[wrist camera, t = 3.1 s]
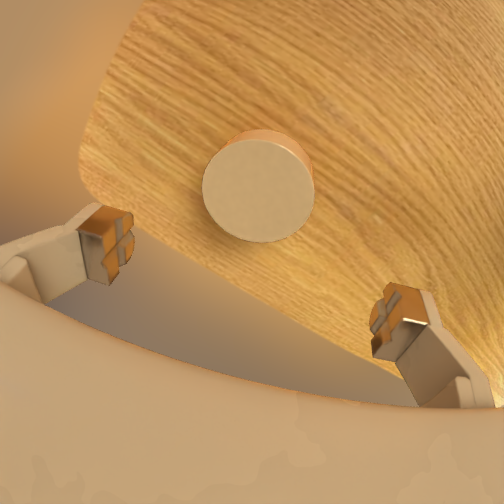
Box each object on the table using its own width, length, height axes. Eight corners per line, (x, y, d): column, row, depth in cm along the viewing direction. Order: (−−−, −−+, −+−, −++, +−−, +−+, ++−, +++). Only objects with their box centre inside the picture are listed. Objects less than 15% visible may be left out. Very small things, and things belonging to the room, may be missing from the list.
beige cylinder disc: (206, 139, 14) (184, 158, 12) (299, 113, 13) (297, 126, 10) (237, 220, 17) (224, 251, 14) (323, 202, 15) (325, 233, 13)
